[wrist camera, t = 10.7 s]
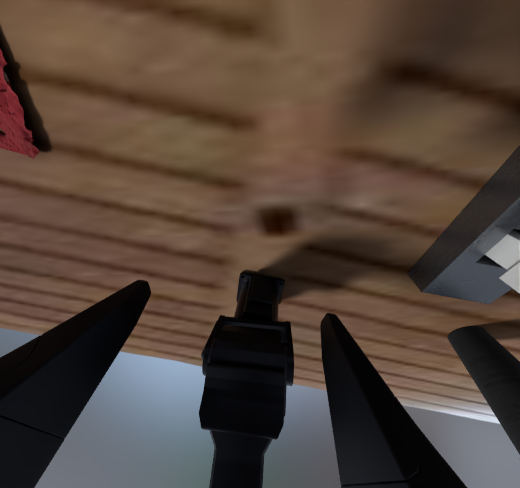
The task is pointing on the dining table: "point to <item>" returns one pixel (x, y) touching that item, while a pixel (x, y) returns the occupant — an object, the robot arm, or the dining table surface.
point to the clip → (508, 258)
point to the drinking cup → (492, 375)
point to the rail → (474, 242)
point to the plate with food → (13, 119)
